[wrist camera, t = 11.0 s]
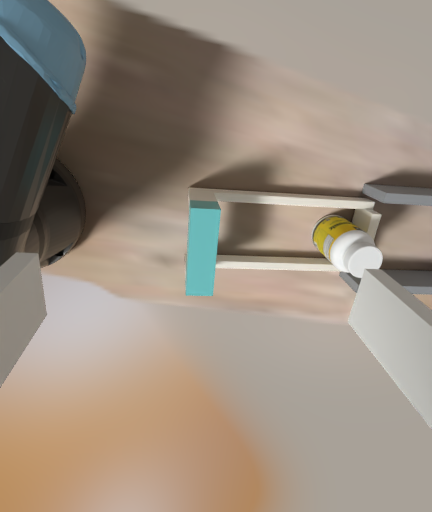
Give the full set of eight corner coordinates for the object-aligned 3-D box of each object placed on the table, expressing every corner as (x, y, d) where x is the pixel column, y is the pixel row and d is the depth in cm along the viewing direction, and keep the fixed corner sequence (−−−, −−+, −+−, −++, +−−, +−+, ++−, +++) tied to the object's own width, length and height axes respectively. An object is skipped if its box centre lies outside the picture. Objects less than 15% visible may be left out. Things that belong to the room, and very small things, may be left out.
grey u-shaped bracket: (339, 275, 48) (356, 292, 43) (364, 183, 42) (386, 193, 38) (437, 277, 50) (463, 294, 45) (473, 191, 44) (507, 200, 40)
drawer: (184, 260, 44) (185, 295, 36) (188, 187, 40) (190, 208, 32) (347, 265, 47) (383, 298, 39) (366, 198, 43) (410, 219, 35)
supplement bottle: (352, 215, 44) (396, 242, 35) (341, 251, 46) (380, 285, 37) (315, 211, 43) (350, 238, 34) (306, 248, 45) (336, 283, 37)
